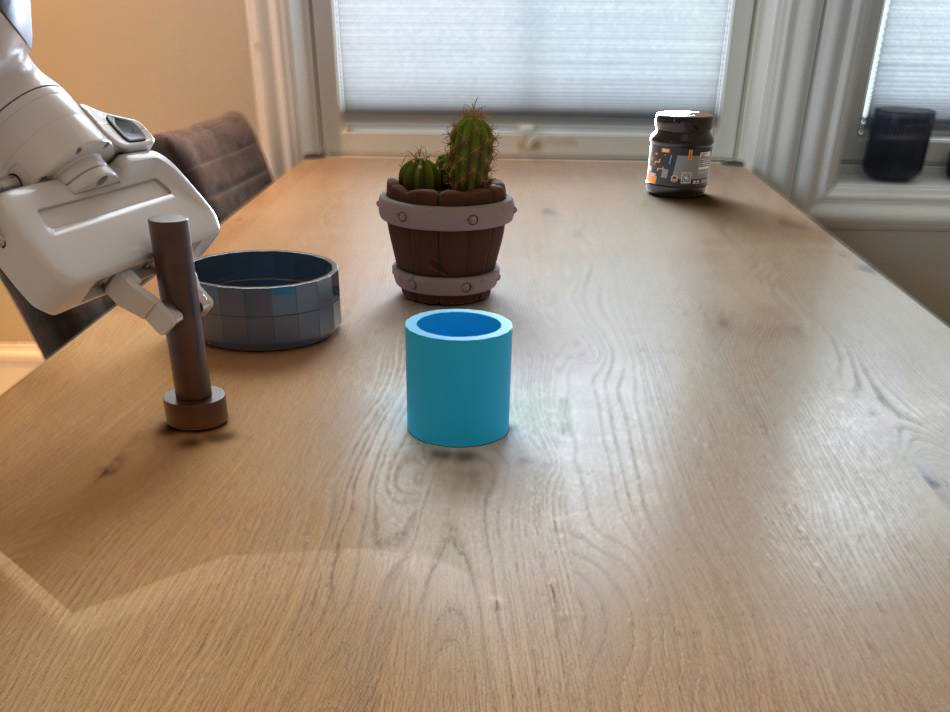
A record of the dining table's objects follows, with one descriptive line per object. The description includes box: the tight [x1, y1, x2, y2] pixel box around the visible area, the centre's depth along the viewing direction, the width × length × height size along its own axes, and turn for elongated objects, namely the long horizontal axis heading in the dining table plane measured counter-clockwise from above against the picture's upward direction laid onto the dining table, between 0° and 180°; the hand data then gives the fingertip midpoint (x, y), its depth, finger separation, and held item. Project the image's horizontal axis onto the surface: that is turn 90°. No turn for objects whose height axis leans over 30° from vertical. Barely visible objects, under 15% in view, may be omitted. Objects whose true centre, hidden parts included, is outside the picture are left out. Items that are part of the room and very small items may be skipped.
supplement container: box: [645, 110, 715, 199], centre depth 164 cm, size 10×10×12 cm
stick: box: [148, 214, 229, 431], centre depth 74 cm, size 5×5×15 cm
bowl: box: [194, 249, 342, 352], centre depth 97 cm, size 15×15×6 cm
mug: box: [404, 308, 514, 448], centre depth 78 cm, size 12×8×8 cm
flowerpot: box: [375, 95, 518, 306], centre depth 105 cm, size 14×15×20 cm
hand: (190, 320), depth 73 cm, fingers closed on stick, 3 cm apart
